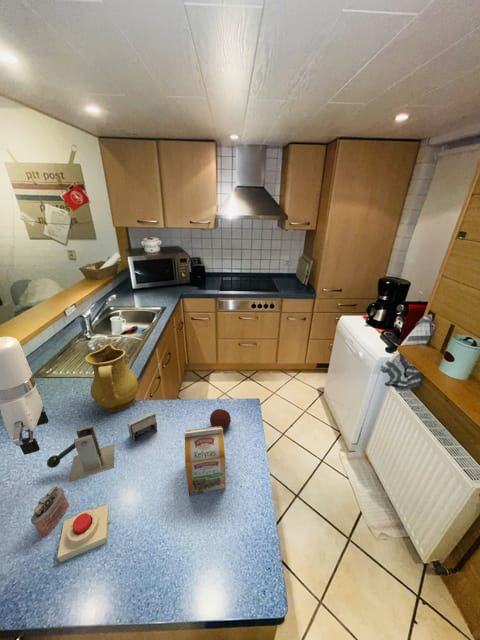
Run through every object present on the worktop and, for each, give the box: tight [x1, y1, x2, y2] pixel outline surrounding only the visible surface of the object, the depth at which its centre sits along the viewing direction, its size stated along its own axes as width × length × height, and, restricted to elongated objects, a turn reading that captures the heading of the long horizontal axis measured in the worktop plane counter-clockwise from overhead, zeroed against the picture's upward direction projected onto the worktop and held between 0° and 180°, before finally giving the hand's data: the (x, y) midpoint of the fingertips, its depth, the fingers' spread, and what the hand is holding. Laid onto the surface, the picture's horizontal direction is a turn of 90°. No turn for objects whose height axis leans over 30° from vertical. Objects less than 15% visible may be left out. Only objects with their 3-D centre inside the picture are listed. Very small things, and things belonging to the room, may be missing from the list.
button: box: [73, 513, 91, 534], centre depth 61 cm, size 4×4×2 cm
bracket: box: [68, 424, 116, 483], centre depth 77 cm, size 12×9×14 cm
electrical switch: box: [127, 411, 158, 442], centre depth 87 cm, size 9×5×9 cm, turn 127°
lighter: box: [30, 485, 70, 538], centre depth 63 cm, size 8×3×10 cm, turn 170°
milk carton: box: [184, 426, 227, 497], centre depth 73 cm, size 11×11×19 cm
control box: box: [56, 504, 110, 563], centre depth 62 cm, size 10×8×4 cm
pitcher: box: [84, 343, 139, 413], centre depth 99 cm, size 17×19×25 cm
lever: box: [46, 430, 93, 469], centre depth 74 cm, size 14×3×3 cm
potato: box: [209, 408, 232, 431], centre depth 92 cm, size 7×8×7 cm
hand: (37, 437), depth 67 cm, fingers open, 9 cm apart
